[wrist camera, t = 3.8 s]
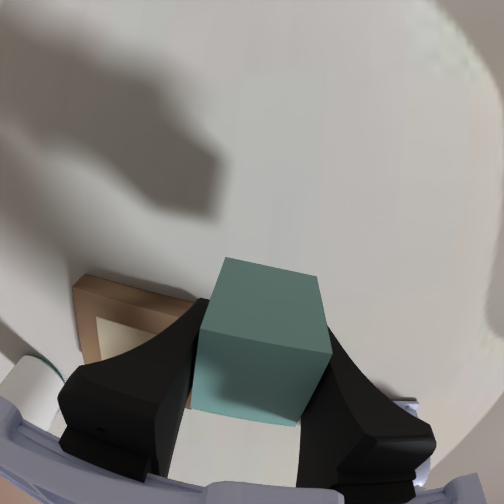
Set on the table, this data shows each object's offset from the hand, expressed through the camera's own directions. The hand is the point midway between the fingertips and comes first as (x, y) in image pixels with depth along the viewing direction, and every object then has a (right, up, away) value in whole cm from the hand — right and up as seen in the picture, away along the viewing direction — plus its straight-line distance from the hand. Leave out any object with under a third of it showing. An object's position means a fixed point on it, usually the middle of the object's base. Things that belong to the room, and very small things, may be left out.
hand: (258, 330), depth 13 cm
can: (-24, -11, +16) cm, 31 cm away
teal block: (0, +1, +2) cm, 2 cm away
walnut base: (-9, -4, +11) cm, 15 cm away
